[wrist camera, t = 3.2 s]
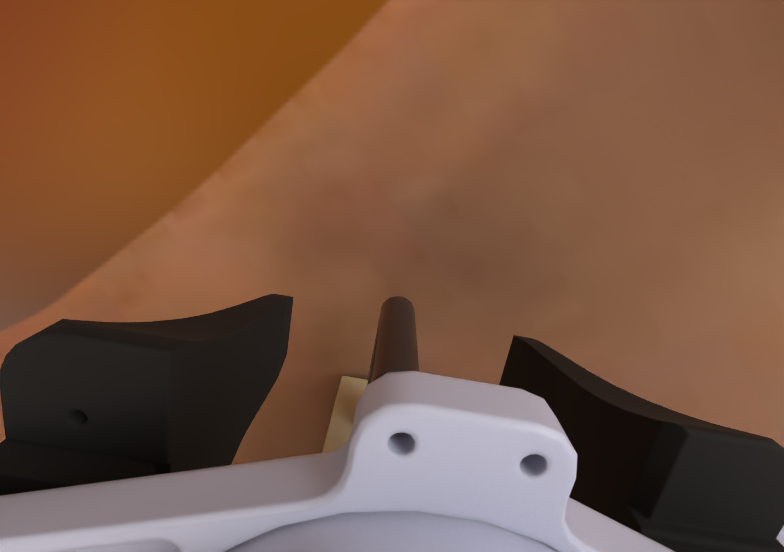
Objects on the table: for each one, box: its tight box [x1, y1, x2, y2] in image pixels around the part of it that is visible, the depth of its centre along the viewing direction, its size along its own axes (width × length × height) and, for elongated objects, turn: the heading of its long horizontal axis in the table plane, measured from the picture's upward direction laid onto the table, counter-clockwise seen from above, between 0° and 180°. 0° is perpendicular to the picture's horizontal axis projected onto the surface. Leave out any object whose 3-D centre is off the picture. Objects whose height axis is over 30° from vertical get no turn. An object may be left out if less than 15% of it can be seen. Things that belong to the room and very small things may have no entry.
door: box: [322, 296, 419, 453], centre depth 16 cm, size 6×16×10 cm, turn 80°
